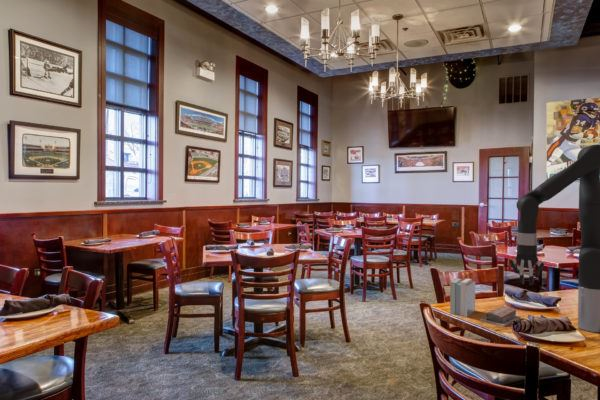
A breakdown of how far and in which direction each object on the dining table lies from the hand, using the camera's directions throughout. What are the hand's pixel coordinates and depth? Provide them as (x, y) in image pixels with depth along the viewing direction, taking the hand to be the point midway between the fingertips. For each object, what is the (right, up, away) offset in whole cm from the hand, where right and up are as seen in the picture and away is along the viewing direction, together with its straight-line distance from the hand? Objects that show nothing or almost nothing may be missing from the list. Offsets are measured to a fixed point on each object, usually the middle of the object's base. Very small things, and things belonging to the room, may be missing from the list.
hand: (526, 284), depth 175 cm
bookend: (-21, -17, +17) cm, 31 cm away
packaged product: (-8, -18, +6) cm, 20 cm away
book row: (-21, -16, +17) cm, 32 cm away
